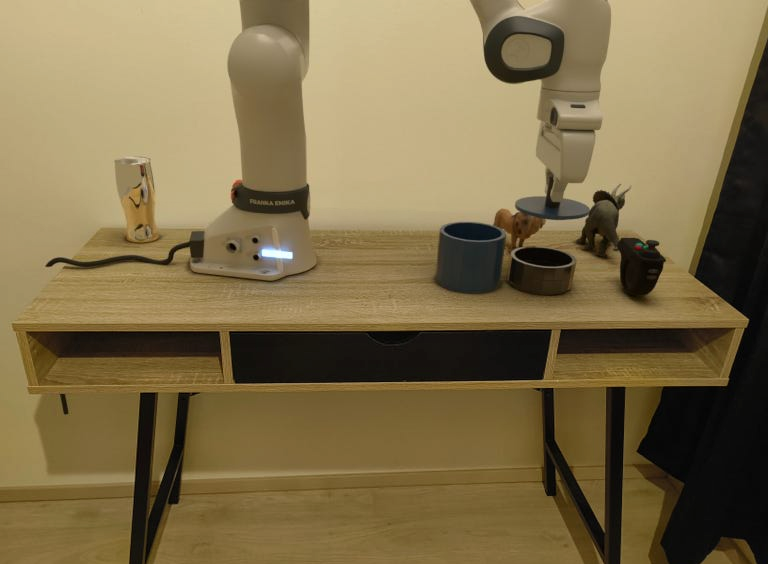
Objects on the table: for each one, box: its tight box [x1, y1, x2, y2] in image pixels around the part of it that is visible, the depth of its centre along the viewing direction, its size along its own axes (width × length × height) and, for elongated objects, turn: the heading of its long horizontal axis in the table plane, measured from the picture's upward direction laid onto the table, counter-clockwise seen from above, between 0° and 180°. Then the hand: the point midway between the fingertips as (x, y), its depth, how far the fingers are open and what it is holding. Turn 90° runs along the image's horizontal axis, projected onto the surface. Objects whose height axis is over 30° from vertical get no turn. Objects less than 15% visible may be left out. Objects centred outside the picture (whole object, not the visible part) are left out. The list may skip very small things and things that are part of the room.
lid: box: [514, 177, 591, 221], centre depth 111 cm, size 12×12×6 cm
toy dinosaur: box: [575, 183, 632, 259], centre depth 133 cm, size 22×8×11 cm, turn 160°
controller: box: [617, 237, 667, 296], centre depth 114 cm, size 4×12×10 cm, turn 2°
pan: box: [506, 245, 578, 296], centre depth 117 cm, size 11×11×5 cm
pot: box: [435, 221, 507, 294], centre depth 116 cm, size 11×11×9 cm
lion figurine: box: [492, 208, 547, 253], centre depth 134 cm, size 15×5×9 cm, turn 34°
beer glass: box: [113, 156, 160, 244], centre depth 130 cm, size 7×7×15 cm
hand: (553, 197), depth 111 cm, fingers closed on lid, 2 cm apart
